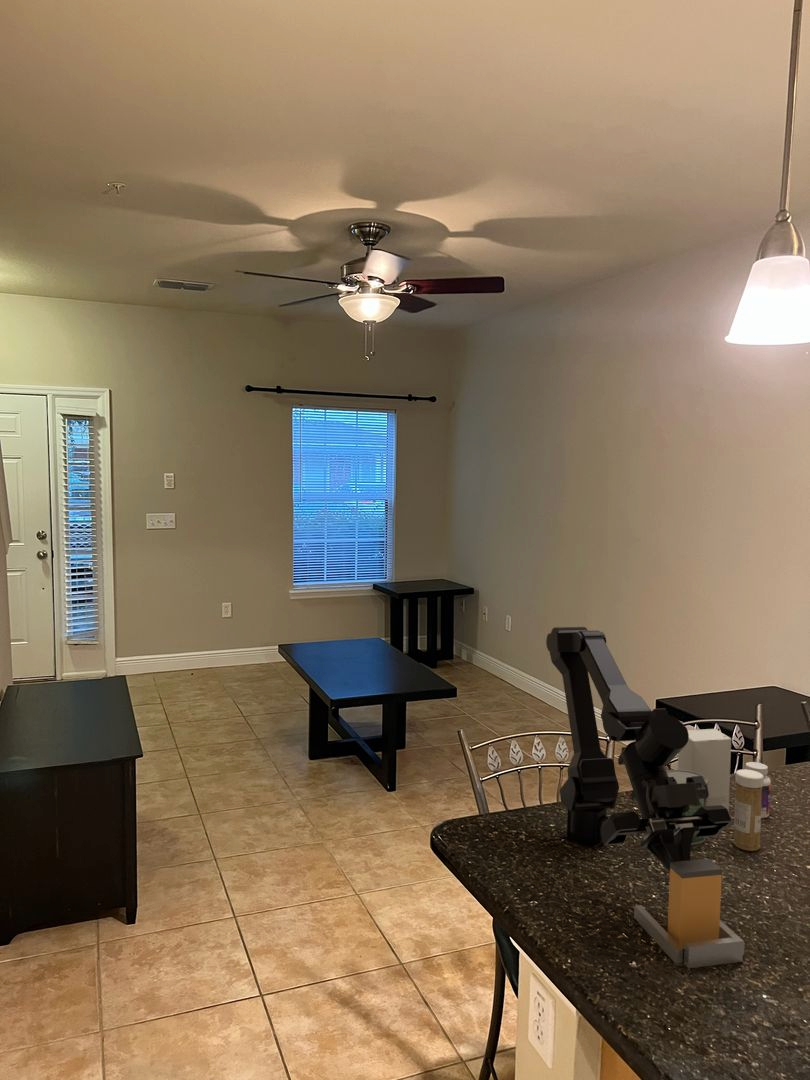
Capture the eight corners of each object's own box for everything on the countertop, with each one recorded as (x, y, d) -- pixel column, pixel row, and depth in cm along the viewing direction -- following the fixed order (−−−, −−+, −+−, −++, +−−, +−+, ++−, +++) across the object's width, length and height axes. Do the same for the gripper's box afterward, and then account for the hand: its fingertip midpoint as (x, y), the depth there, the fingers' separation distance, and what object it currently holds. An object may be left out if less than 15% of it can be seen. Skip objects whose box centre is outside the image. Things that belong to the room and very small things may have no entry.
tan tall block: (667, 937, 107) (670, 862, 106) (705, 932, 108) (709, 858, 107) (679, 949, 104) (682, 872, 103) (718, 945, 105) (722, 869, 104)
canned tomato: (651, 833, 142) (653, 775, 141) (675, 822, 146) (678, 766, 146) (689, 849, 135) (692, 788, 135) (714, 837, 140) (716, 779, 139)
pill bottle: (774, 819, 149) (776, 770, 148) (746, 818, 149) (748, 769, 148) (761, 807, 154) (764, 760, 153) (734, 807, 154) (737, 760, 154)
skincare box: (713, 802, 156) (716, 727, 155) (730, 816, 150) (734, 738, 149) (674, 803, 155) (677, 728, 154) (690, 817, 149) (693, 739, 148)
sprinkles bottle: (765, 851, 135) (769, 777, 134) (741, 852, 134) (745, 778, 134) (750, 839, 140) (754, 767, 139) (727, 840, 139) (730, 768, 138)
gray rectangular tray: (620, 909, 115) (621, 884, 115) (681, 902, 118) (682, 879, 117) (680, 976, 100) (681, 948, 99) (749, 967, 102) (750, 940, 101)
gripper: (612, 759, 109) (649, 871, 99) (728, 752, 113) (775, 859, 103) (586, 791, 118) (618, 898, 107) (695, 784, 121) (736, 886, 111)
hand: (687, 885), depth 107 cm, fingers closed, pressing on tan tall block
